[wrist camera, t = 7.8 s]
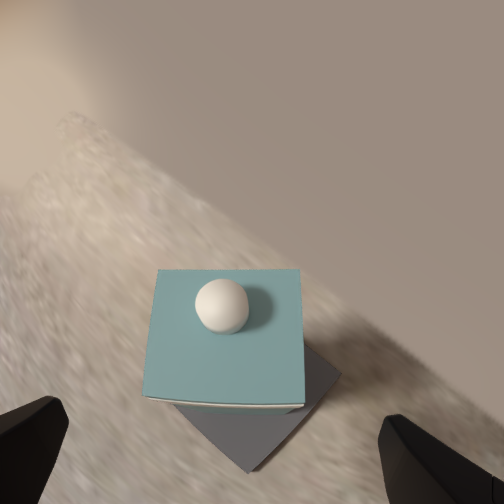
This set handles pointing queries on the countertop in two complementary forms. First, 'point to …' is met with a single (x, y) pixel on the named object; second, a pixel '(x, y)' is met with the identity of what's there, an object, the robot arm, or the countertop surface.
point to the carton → (227, 341)
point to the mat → (263, 419)
